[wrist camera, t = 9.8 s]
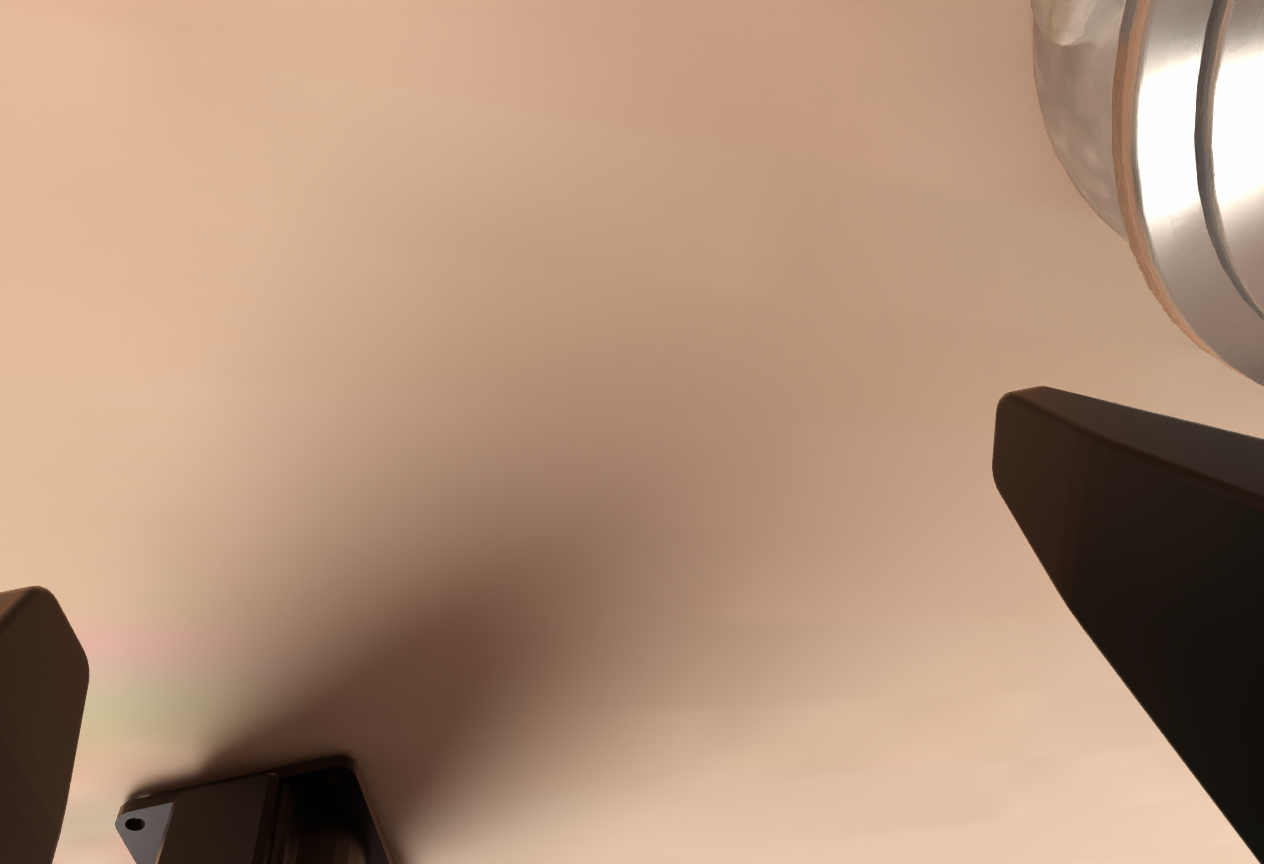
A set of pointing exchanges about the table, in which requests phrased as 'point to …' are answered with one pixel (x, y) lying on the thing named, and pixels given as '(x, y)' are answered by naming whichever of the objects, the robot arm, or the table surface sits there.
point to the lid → (1196, 166)
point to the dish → (1080, 93)
